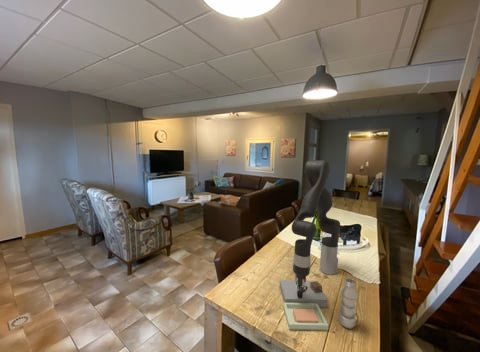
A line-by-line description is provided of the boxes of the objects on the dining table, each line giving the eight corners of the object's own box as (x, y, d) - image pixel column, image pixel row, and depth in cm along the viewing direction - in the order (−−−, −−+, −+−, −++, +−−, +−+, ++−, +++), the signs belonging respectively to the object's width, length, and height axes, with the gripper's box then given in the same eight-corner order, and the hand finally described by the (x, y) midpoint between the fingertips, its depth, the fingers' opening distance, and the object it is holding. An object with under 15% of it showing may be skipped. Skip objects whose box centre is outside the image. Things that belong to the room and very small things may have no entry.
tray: (317, 308, 94) (317, 303, 93) (327, 330, 82) (328, 325, 81) (283, 307, 94) (283, 302, 93) (289, 329, 82) (289, 324, 82)
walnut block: (316, 286, 103) (317, 281, 103) (321, 291, 99) (322, 286, 99) (310, 287, 102) (310, 282, 102) (314, 292, 98) (315, 287, 98)
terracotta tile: (318, 320, 82) (318, 327, 83) (313, 309, 88) (312, 315, 89) (296, 320, 82) (296, 326, 83) (293, 308, 88) (292, 315, 89)
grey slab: (316, 287, 108) (316, 280, 108) (327, 307, 94) (327, 299, 94) (279, 286, 108) (279, 280, 108) (285, 306, 94) (285, 298, 94)
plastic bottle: (338, 328, 83) (342, 283, 81) (337, 315, 89) (340, 274, 87) (356, 333, 81) (360, 287, 78) (353, 320, 87) (357, 278, 85)
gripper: (314, 271, 85) (312, 307, 87) (305, 255, 99) (303, 287, 101) (297, 270, 86) (295, 307, 87) (290, 255, 99) (288, 287, 101)
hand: (299, 296), depth 94 cm, fingers closed
